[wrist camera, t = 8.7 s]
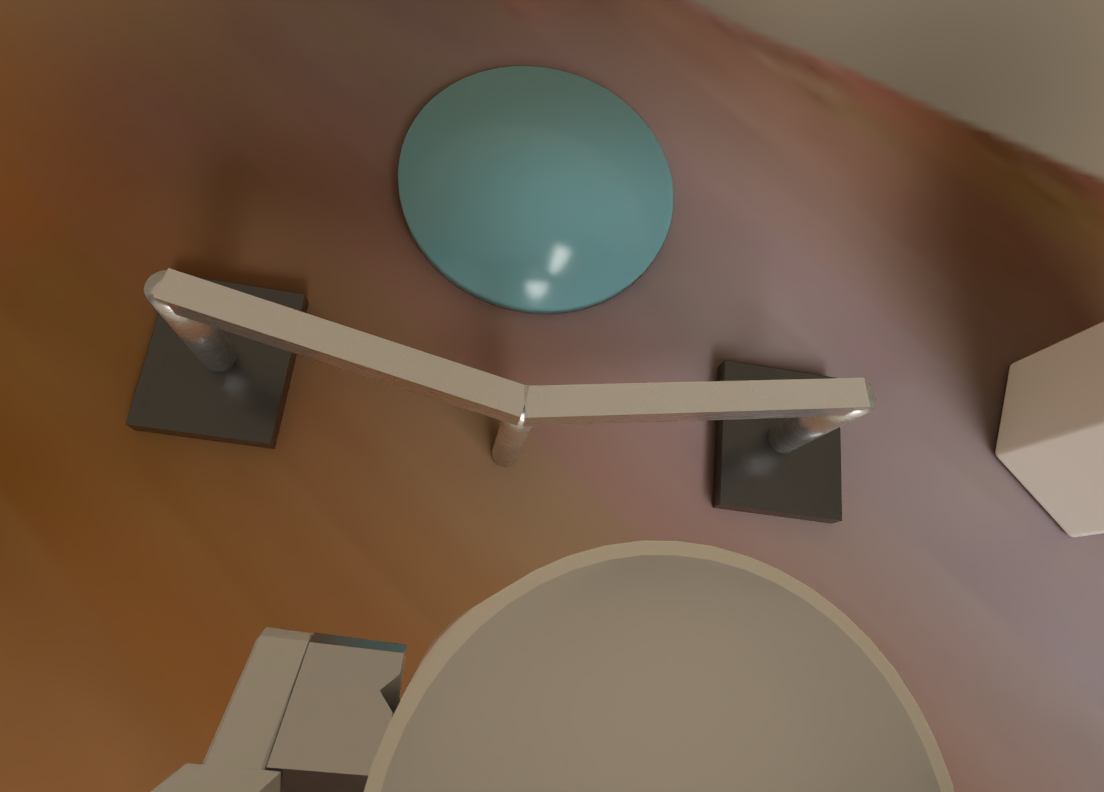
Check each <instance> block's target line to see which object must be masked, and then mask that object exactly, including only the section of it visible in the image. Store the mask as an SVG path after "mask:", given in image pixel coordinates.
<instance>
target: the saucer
mask: <svg viewBox="0 0 1104 792" xmlns="http://www.w3.org/2000/svg"><path fill="white" fill-rule="evenodd" d="M398 186H399V196H400V204H401V208H402V212H403V216H404V219H405V222H406V224H407V226H408V229H409V231H410V234H411V235H412V237H413V239H414V241H415V242H416V244H417V246H418V247H419V249H420V250H421V252H422V253H423V254H424V255H425V257H426V258H427V259H428V261H429V262H430V263H431V264H432V265H433V266H434V267H435V268H436V269H437V270H438V271H439V272H440V273H441V274H442V275H443V276H444V277H446V278H447V279H448V280H449V281H451V282H452V283H453V284H455V285H456V286H457V287H459V288H460V289H462V290H464V291H466V292H467V293H469V294H471V295H472V296H474V297H476V298H478V299H481V300H483V301H485V302H488V303H490V304H492V305H496V306H499V307H502V308H506V309H509V310H514V311H520V312H526V313H537V314H556V313H567V312H572V311H577V310H582V309H586V308H589V307H592V306H595V305H598V304H601V303H603V302H605V301H607V300H609V299H611V298H613V297H615V296H617V295H618V294H619V293H621V292H622V291H624V290H625V289H627V288H628V287H630V286H631V285H632V284H633V283H634V282H635V281H636V280H637V279H638V278H639V277H641V276H642V274H643V273H644V272H645V271H646V269H647V268H648V267H649V266H650V264H651V263H652V262H653V260H654V258H655V257H656V255H657V253H658V251H659V250H660V248H661V246H662V245H663V243H664V240H665V238H666V235H667V233H668V230H669V227H670V222H671V218H672V213H673V200H674V197H673V183H672V178H671V173H670V169H669V166H668V163H667V160H666V157H665V154H664V152H663V150H662V148H661V146H660V144H659V142H658V140H657V139H656V137H655V136H654V134H653V133H652V131H651V130H650V128H649V127H648V125H647V124H646V123H645V122H644V121H643V120H642V118H641V117H640V116H639V115H638V114H637V113H636V112H635V111H634V110H633V109H632V108H631V107H630V106H629V105H627V104H626V103H625V102H624V101H623V100H621V99H620V98H619V97H617V96H616V95H614V94H613V93H612V92H610V91H609V90H607V89H605V88H603V87H602V86H600V85H598V84H596V83H594V82H592V81H590V80H587V79H585V78H583V77H581V76H578V75H575V74H571V73H568V72H565V71H561V70H556V69H551V68H546V67H536V66H509V67H501V68H495V69H490V70H486V71H482V72H479V73H476V74H473V75H471V76H468V77H465V78H463V79H461V80H459V81H457V82H456V83H454V84H452V85H450V86H449V87H447V88H446V89H444V90H443V91H441V92H440V93H439V94H437V95H436V96H435V97H434V98H433V99H432V100H431V101H430V102H429V103H428V104H427V105H425V107H424V108H423V109H422V110H421V112H420V113H419V114H418V116H417V117H416V118H415V120H414V122H413V123H412V125H411V127H410V129H409V130H408V132H407V135H406V137H405V140H404V143H403V145H402V149H401V154H400V158H399V167H398Z"/></svg>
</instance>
